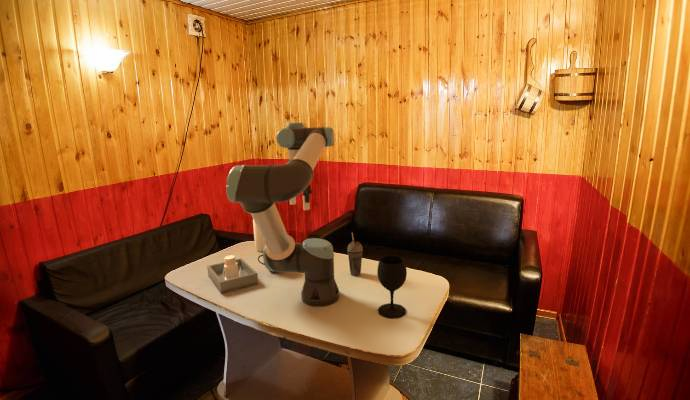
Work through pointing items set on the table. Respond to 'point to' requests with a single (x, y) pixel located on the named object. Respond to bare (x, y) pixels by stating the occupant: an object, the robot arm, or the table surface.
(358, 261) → the beverage cup
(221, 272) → the tote
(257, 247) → the alcohol
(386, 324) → the table surface
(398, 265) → the wine glass
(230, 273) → the downlight
